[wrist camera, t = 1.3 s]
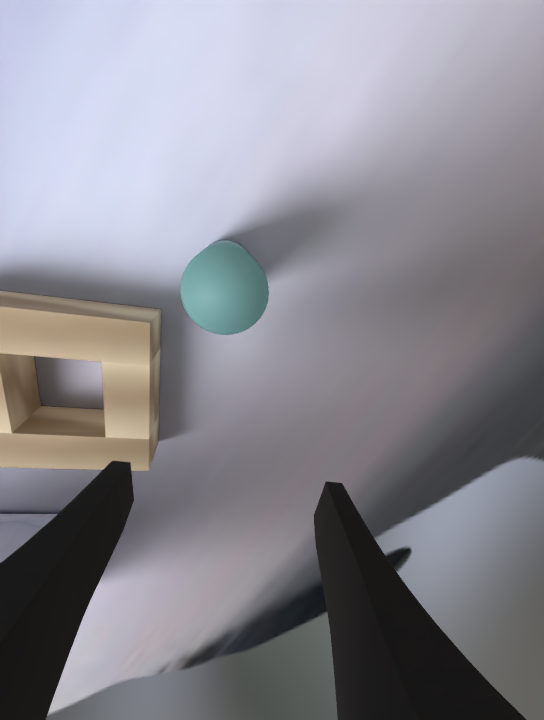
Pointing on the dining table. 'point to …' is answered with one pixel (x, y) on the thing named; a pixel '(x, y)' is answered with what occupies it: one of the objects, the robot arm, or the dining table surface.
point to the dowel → (224, 288)
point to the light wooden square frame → (119, 375)
